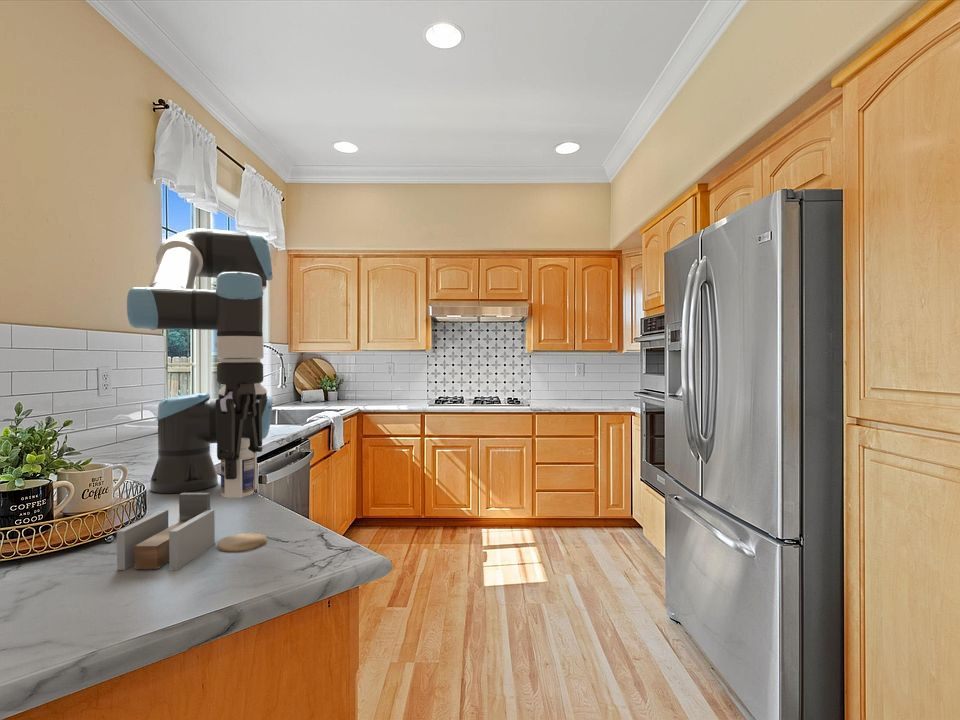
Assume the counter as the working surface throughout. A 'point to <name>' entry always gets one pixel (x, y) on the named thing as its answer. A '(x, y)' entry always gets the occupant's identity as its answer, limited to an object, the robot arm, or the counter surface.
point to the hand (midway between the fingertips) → (241, 492)
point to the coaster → (241, 542)
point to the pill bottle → (243, 469)
